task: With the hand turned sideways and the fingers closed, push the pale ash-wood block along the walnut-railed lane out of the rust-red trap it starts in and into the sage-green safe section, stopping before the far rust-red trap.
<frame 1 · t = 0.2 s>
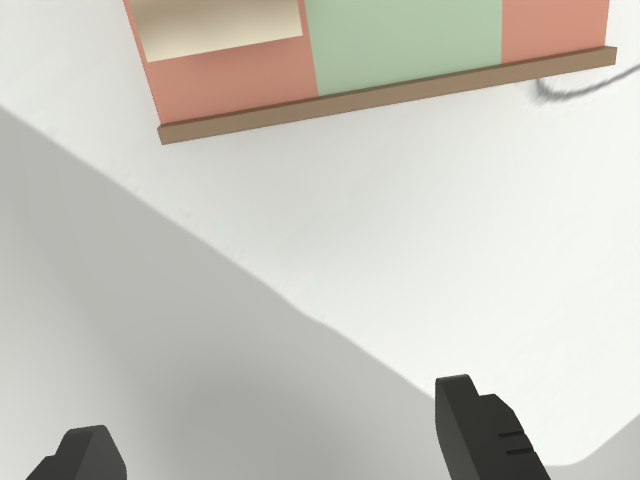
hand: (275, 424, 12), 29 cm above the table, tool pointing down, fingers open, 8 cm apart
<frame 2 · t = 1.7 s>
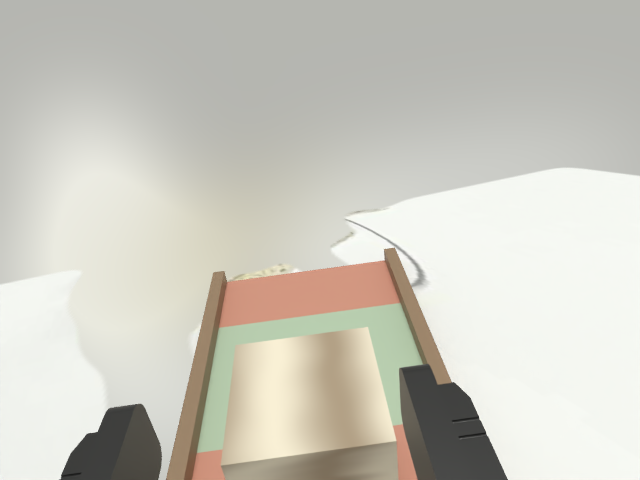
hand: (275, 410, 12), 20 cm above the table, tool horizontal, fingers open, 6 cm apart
block: (316, 448, 27), point 6 cm above the table, slide at 0.0 cm
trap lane: (316, 388, 39), on the table
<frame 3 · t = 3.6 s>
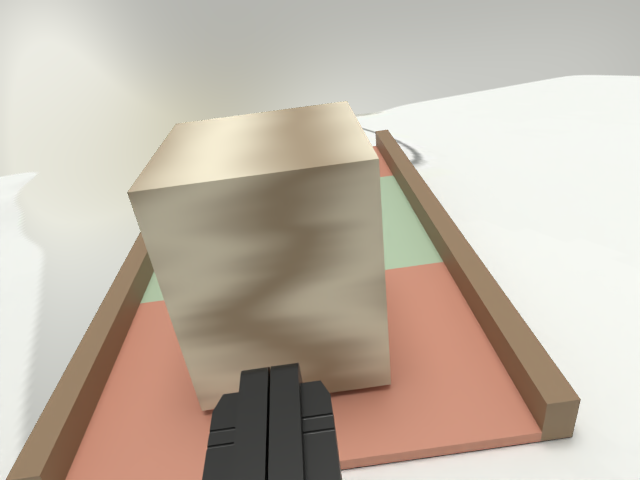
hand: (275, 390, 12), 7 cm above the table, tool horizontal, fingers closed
block: (278, 247, 21), point 6 cm above the table, slide at 0.0 cm
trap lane: (291, 247, 32), on the table
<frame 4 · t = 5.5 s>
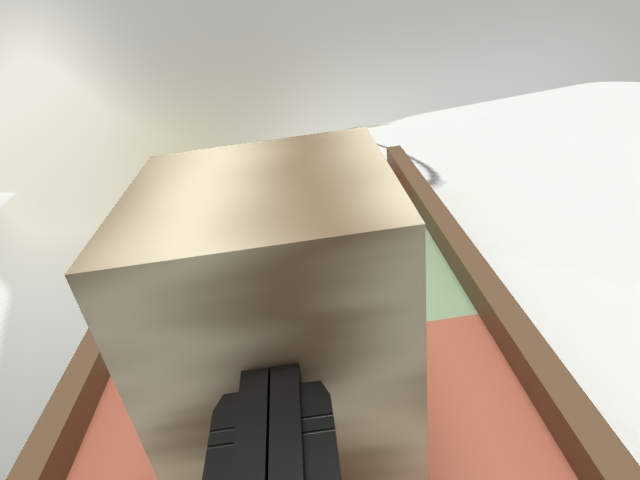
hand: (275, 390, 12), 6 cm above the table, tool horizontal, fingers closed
block: (280, 316, 16), point 6 cm above the table, slide at 0.2 cm, touching gripper
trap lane: (295, 290, 28), on the table
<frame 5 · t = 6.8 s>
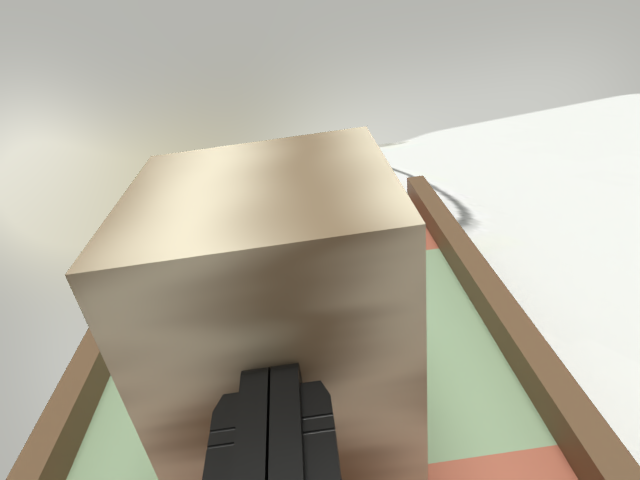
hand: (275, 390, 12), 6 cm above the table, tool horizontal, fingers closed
block: (280, 315, 16), point 6 cm above the table, slide at 7.7 cm, touching gripper
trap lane: (300, 385, 21), on the table
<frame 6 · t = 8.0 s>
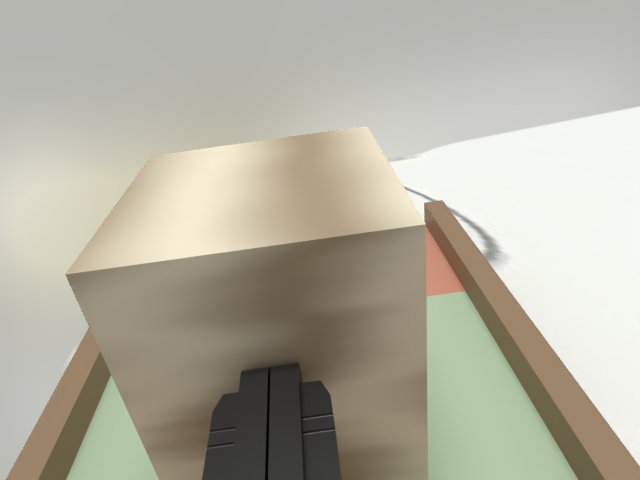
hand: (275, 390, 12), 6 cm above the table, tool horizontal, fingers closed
block: (281, 315, 16), point 6 cm above the table, slide at 12.2 cm, touching gripper
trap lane: (306, 478, 17), on the table
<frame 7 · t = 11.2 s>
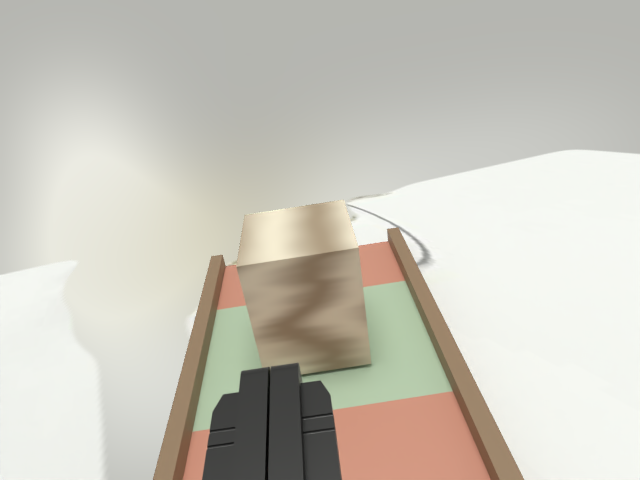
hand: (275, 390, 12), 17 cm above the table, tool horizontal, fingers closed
block: (305, 286, 36), point 6 cm above the table, slide at 12.5 cm
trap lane: (318, 365, 37), on the table
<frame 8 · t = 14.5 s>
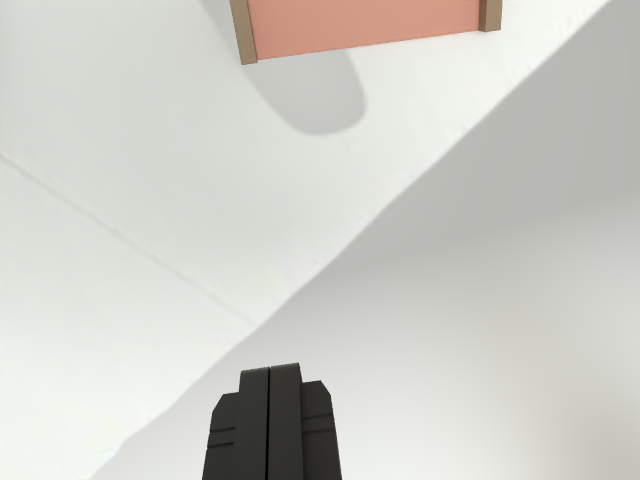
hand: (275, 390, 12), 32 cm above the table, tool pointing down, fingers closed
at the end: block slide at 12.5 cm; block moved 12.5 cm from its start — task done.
